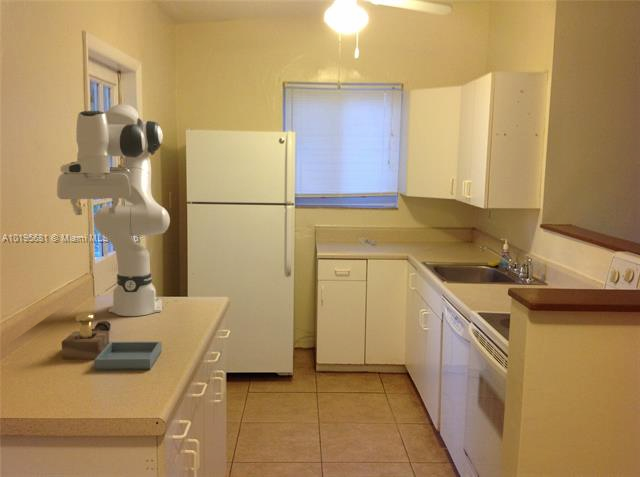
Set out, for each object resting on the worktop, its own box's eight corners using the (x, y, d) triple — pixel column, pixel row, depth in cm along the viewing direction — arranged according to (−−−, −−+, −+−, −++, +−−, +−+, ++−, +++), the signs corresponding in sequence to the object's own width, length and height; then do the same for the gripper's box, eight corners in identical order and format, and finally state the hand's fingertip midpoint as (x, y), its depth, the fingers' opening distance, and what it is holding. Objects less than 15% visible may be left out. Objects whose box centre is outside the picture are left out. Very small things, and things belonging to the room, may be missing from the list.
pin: (81, 350, 169) (79, 313, 167) (97, 349, 169) (96, 313, 168) (75, 355, 164) (73, 317, 163) (92, 355, 165) (90, 317, 163)
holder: (75, 347, 171) (74, 331, 171) (109, 346, 172) (108, 330, 171) (62, 358, 162) (61, 341, 161) (98, 358, 162) (98, 341, 162)
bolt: (108, 336, 188) (95, 350, 173) (94, 329, 187) (80, 342, 173) (117, 321, 188) (105, 333, 173) (103, 313, 187) (89, 325, 172)
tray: (111, 351, 168) (110, 341, 168) (161, 351, 169) (161, 341, 169) (94, 370, 154) (94, 359, 153) (150, 369, 155) (150, 359, 154)
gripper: (126, 167, 176) (128, 212, 178) (54, 166, 165) (56, 214, 167) (133, 167, 171) (134, 213, 173) (58, 166, 160) (60, 216, 161)
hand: (95, 214), depth 170 cm, fingers open, 8 cm apart
